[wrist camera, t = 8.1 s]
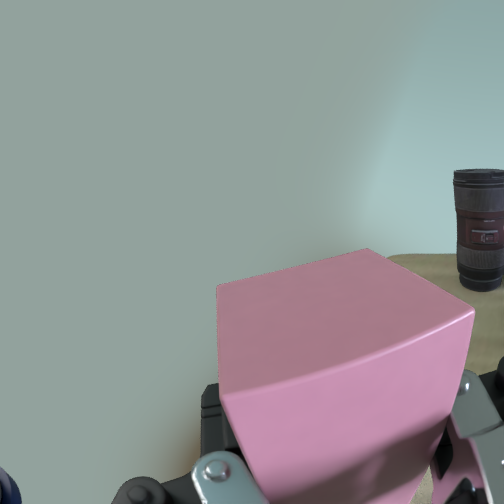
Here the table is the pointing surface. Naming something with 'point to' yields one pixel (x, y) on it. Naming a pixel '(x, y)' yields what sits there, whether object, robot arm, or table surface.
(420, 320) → the pink box
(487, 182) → the camera lens
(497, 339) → the table surface
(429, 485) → the table surface
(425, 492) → the table surface
